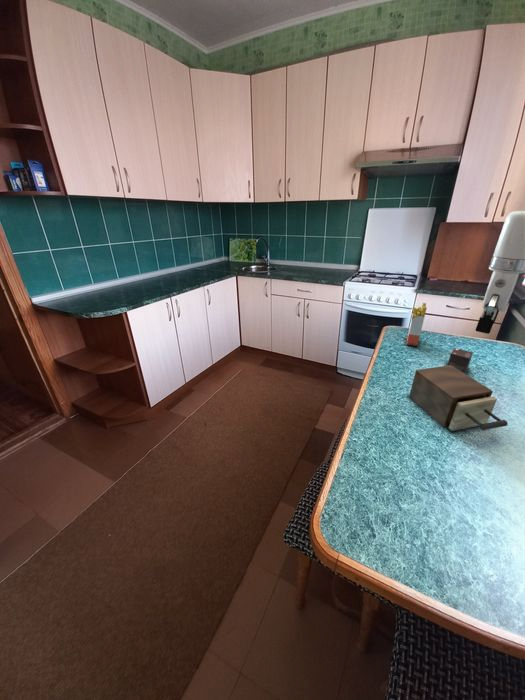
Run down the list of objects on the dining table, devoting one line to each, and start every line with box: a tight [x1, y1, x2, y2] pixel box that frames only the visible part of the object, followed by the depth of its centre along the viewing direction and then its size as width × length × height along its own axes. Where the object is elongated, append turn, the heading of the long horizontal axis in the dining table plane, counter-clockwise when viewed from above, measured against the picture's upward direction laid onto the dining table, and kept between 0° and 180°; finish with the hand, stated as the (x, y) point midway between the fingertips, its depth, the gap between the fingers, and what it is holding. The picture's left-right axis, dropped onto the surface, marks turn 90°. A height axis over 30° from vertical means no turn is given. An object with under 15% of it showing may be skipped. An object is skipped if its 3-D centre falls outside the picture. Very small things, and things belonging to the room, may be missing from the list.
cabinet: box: [408, 365, 493, 428], centre depth 86 cm, size 15×13×11 cm
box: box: [446, 347, 474, 374], centre depth 107 cm, size 6×6×7 cm
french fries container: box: [406, 302, 427, 347], centre depth 125 cm, size 5×11×18 cm, turn 153°
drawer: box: [447, 394, 508, 432], centre depth 81 cm, size 20×11×9 cm, turn 13°
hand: (485, 326), depth 81 cm, fingers open, 9 cm apart
